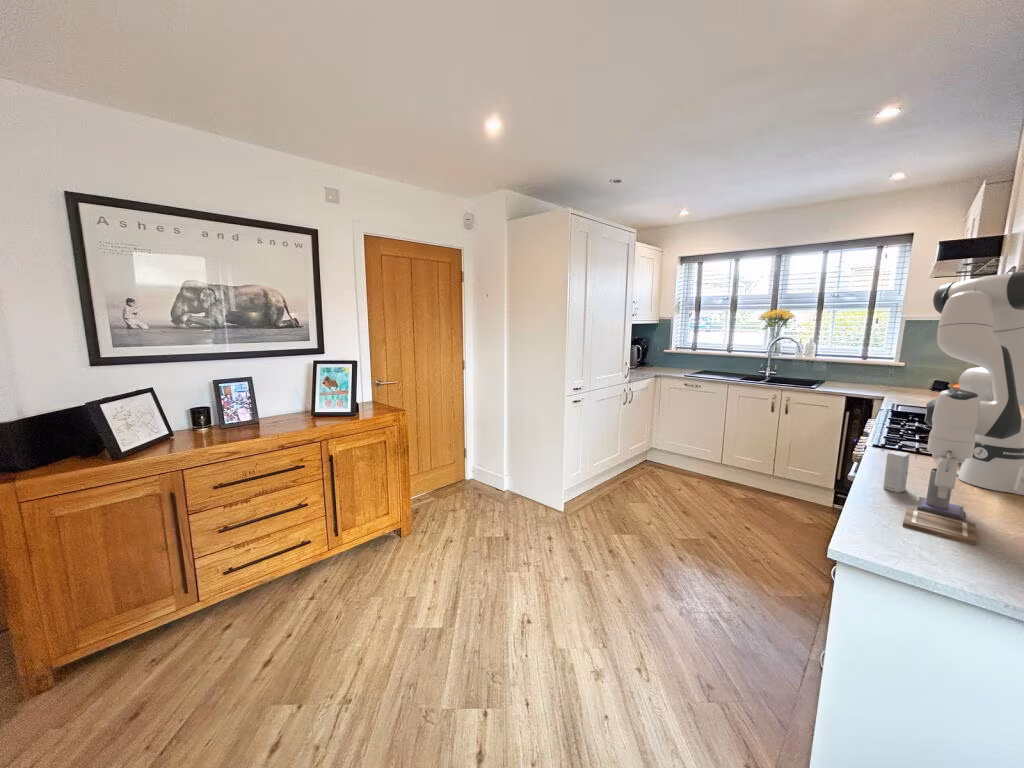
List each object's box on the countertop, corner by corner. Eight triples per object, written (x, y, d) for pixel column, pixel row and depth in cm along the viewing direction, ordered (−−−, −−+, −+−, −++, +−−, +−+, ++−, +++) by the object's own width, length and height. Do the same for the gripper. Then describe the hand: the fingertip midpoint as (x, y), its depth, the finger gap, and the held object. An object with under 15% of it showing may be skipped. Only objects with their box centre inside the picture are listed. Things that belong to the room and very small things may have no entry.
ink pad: (918, 500, 123) (919, 495, 123) (962, 510, 117) (963, 505, 116) (916, 510, 116) (917, 506, 116) (963, 522, 110) (964, 516, 110)
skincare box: (900, 493, 128) (905, 456, 126) (881, 488, 132) (887, 453, 130) (906, 489, 132) (911, 453, 130) (888, 484, 135) (893, 449, 134)
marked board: (906, 510, 117) (907, 506, 116) (974, 527, 107) (975, 523, 107) (902, 526, 108) (903, 521, 108) (976, 545, 98) (976, 541, 98)
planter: (924, 504, 117) (930, 470, 116) (926, 500, 120) (932, 467, 118) (947, 510, 114) (953, 475, 112) (949, 505, 116) (955, 471, 115)
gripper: (967, 458, 104) (958, 509, 107) (966, 443, 118) (958, 488, 120) (932, 453, 109) (924, 501, 111) (935, 438, 123) (927, 481, 125)
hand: (941, 494), depth 116 cm, fingers closed on planter, 4 cm apart
